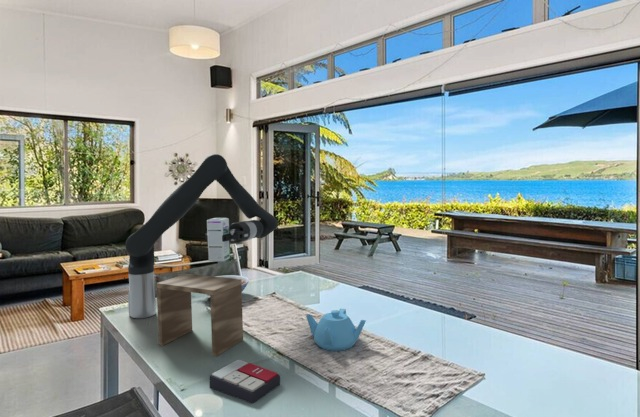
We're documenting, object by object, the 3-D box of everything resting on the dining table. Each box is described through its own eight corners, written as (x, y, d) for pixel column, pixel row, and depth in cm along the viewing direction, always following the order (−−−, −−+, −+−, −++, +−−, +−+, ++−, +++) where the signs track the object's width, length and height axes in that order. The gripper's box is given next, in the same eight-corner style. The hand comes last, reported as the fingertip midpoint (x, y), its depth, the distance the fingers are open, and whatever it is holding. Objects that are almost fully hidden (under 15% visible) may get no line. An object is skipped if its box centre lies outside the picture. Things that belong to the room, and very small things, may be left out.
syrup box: (224, 261, 142) (222, 219, 141) (207, 261, 143) (206, 219, 142) (230, 258, 148) (229, 217, 146) (215, 257, 149) (213, 217, 148)
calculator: (252, 390, 100) (208, 372, 108) (252, 407, 101) (208, 388, 109) (280, 372, 109) (238, 356, 117) (280, 387, 110) (238, 371, 118)
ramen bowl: (262, 294, 192) (261, 277, 191) (225, 308, 173) (225, 289, 172) (222, 287, 205) (222, 271, 205) (185, 299, 186) (184, 281, 185)
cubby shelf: (159, 345, 136) (156, 283, 135) (189, 330, 149) (186, 273, 147) (216, 356, 127) (214, 290, 125) (243, 339, 139) (241, 279, 138)
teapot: (368, 347, 132) (368, 314, 131) (326, 357, 125) (325, 322, 125) (344, 331, 146) (344, 301, 145) (305, 339, 139) (304, 308, 138)
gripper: (226, 220, 160) (197, 226, 145) (258, 222, 155) (231, 228, 139) (227, 240, 161) (198, 247, 146) (259, 242, 155) (232, 250, 140)
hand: (214, 237), depth 143 cm, fingers closed on syrup box, 6 cm apart
